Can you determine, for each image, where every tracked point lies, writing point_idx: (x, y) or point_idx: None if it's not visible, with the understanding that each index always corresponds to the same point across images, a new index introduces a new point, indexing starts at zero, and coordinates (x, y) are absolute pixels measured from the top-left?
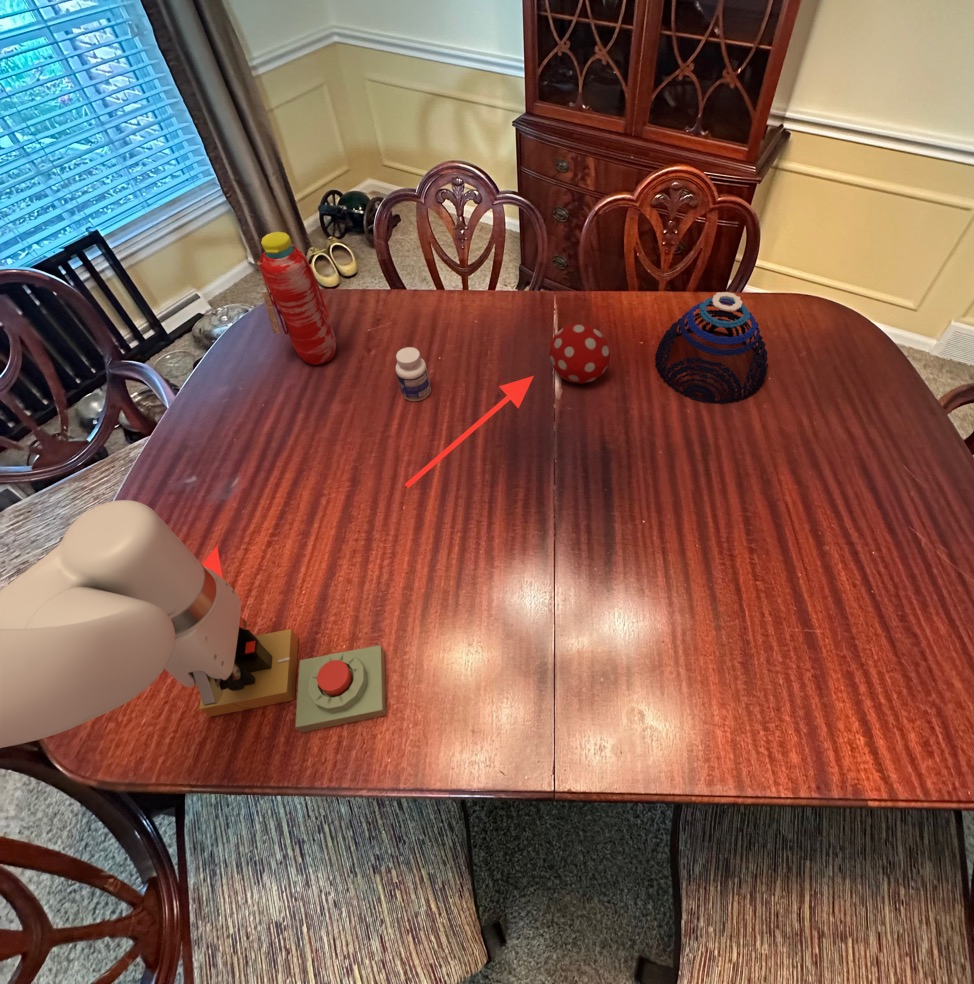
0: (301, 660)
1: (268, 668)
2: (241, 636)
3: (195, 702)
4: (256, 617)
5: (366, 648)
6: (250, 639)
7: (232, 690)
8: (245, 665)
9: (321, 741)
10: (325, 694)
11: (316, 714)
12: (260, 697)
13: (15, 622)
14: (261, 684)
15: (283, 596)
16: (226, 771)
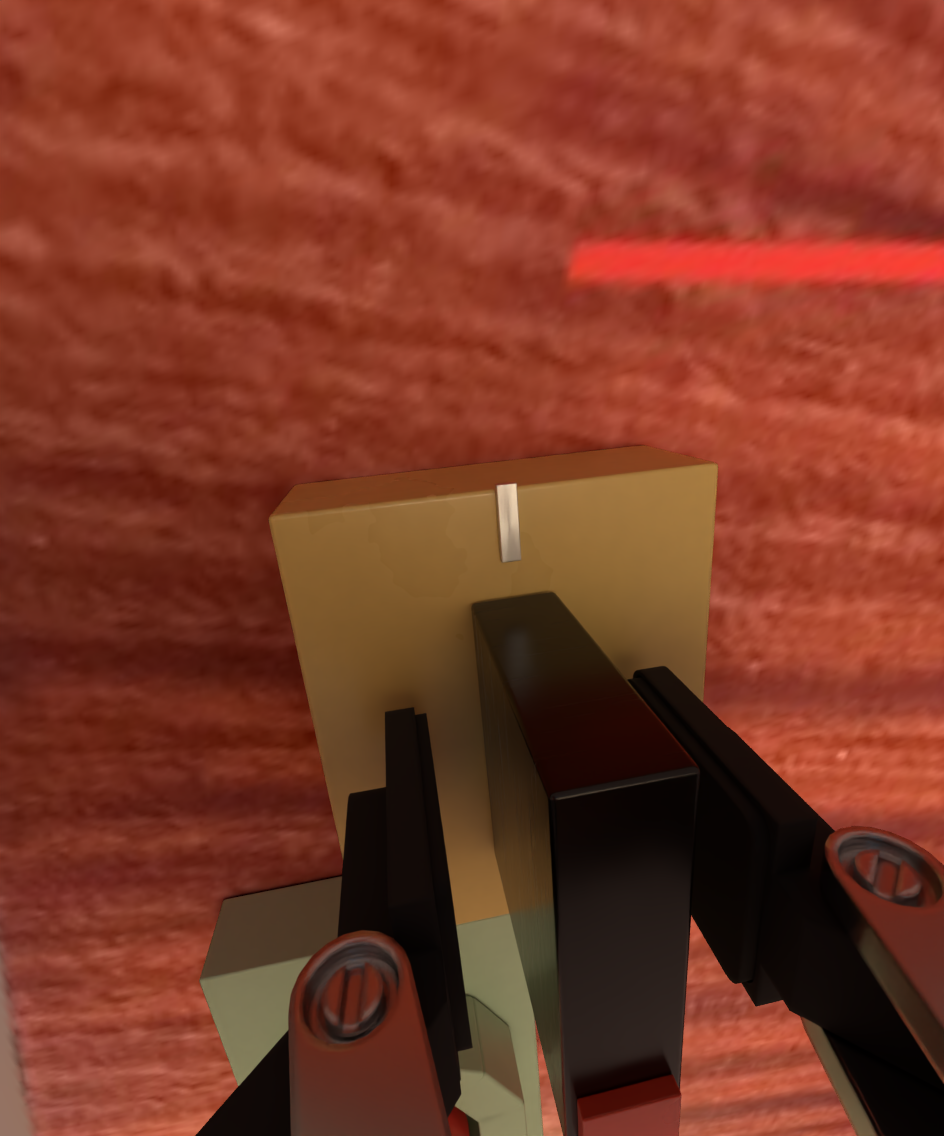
0: None
1: (495, 852)
2: (741, 965)
3: (379, 376)
4: (786, 585)
5: (537, 1106)
6: (692, 914)
7: (351, 793)
8: (511, 864)
9: (191, 969)
10: None
11: (262, 1038)
12: (339, 838)
13: None
14: None
15: (850, 679)
16: (11, 646)
